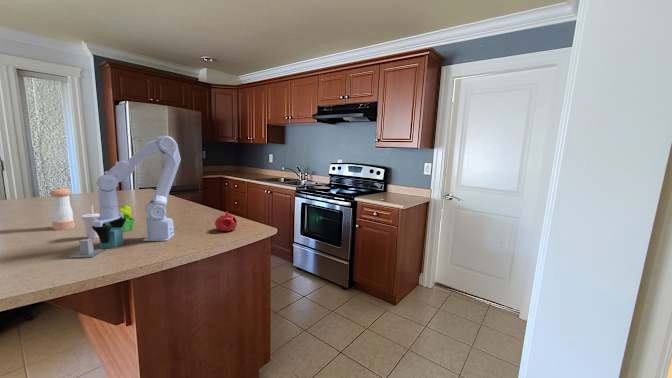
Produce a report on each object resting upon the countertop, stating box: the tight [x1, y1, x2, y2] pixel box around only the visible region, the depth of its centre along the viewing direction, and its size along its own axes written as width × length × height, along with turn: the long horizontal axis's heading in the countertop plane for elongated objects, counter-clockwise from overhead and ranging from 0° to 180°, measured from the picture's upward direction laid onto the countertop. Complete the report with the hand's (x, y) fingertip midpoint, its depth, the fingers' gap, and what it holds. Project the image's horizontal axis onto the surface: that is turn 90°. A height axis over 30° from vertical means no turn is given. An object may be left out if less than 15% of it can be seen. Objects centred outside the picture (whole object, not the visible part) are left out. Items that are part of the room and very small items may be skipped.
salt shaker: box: [49, 186, 76, 231], centre depth 127 cm, size 7×7×19 cm
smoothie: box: [81, 204, 100, 239], centre depth 116 cm, size 6×6×14 cm
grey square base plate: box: [68, 238, 106, 259], centre depth 99 cm, size 7×7×6 cm
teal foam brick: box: [98, 227, 124, 249], centre depth 108 cm, size 5×5×7 cm
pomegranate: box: [214, 210, 238, 232], centre depth 134 cm, size 10×10×9 cm
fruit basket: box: [106, 204, 136, 233], centre depth 128 cm, size 11×9×11 cm
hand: (111, 239), depth 109 cm, fingers open, 7 cm apart
